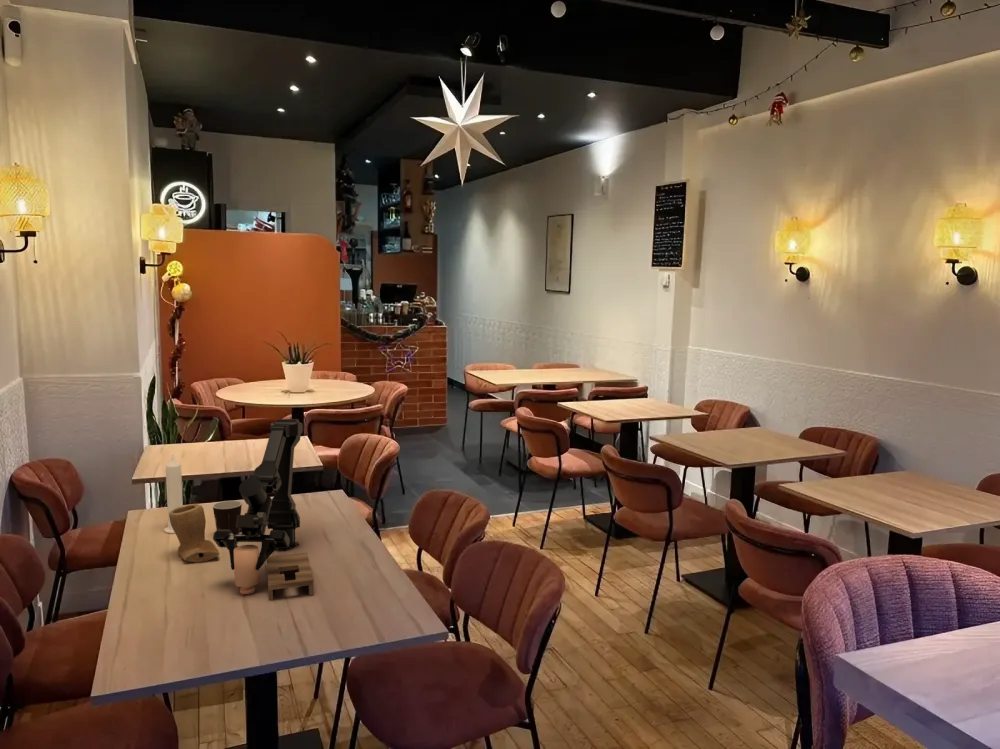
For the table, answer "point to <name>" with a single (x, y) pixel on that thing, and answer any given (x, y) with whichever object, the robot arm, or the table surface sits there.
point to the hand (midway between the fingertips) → (244, 569)
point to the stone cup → (192, 533)
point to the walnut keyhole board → (287, 564)
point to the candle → (173, 488)
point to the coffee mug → (227, 515)
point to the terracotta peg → (246, 568)
